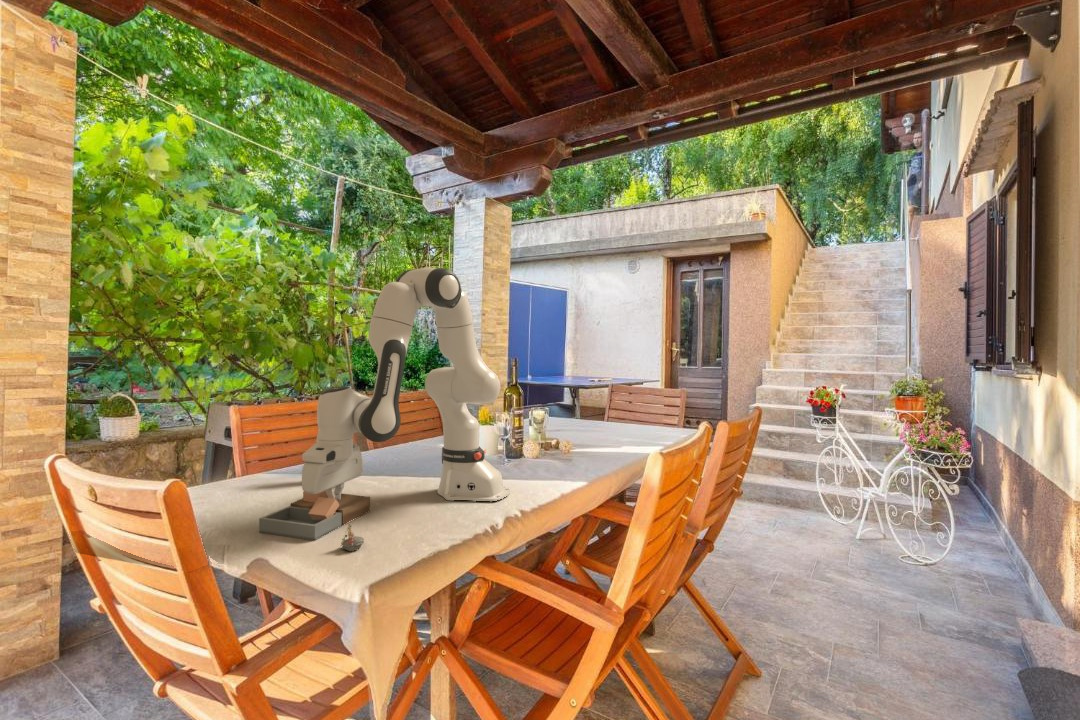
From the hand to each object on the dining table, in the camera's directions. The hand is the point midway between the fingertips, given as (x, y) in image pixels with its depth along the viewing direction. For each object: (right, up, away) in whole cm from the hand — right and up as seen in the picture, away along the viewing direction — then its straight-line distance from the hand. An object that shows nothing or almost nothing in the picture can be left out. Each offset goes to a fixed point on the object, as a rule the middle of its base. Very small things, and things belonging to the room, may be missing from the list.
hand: (334, 501), depth 139 cm
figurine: (+11, -6, -17) cm, 21 cm away
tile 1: (-7, -1, +5) cm, 9 cm away
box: (-6, -5, -6) cm, 10 cm away
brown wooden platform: (-3, -5, +5) cm, 7 cm away
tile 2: (-1, -2, -3) cm, 4 cm away
